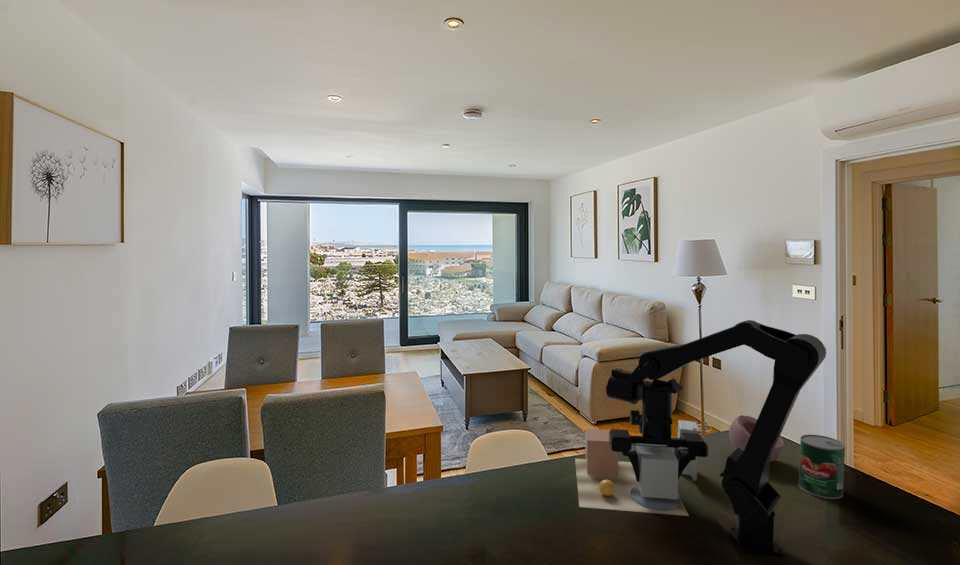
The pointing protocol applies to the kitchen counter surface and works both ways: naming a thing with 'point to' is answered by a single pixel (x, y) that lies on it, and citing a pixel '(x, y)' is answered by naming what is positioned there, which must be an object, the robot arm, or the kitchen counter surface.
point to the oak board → (621, 493)
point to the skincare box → (692, 466)
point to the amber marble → (606, 487)
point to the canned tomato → (821, 466)
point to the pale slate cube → (657, 472)
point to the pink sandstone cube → (600, 453)
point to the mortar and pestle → (742, 433)
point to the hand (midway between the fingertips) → (655, 481)
